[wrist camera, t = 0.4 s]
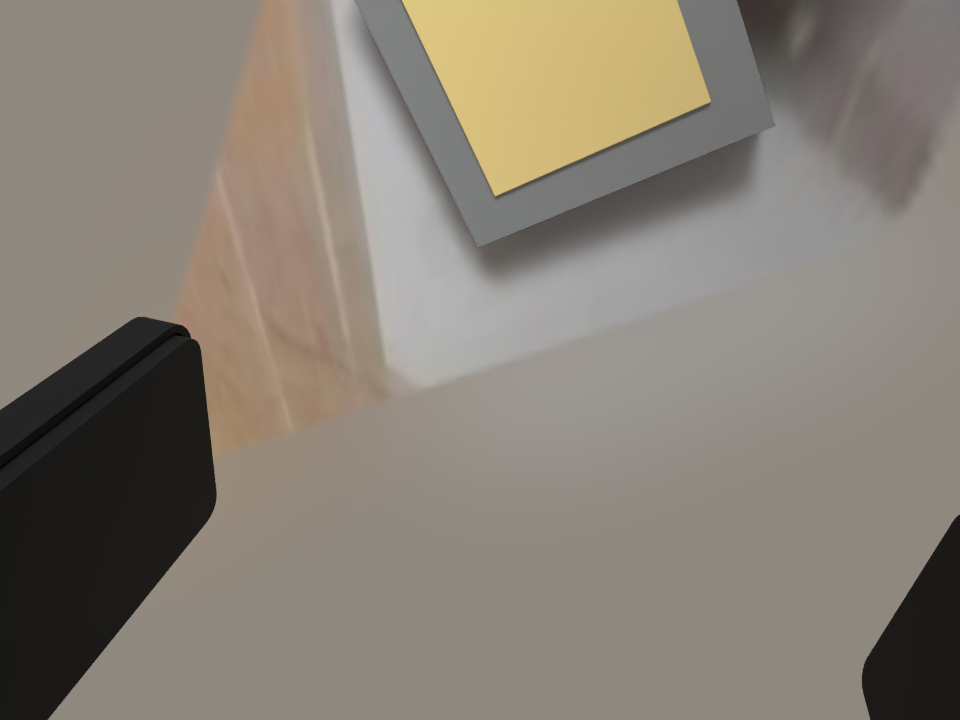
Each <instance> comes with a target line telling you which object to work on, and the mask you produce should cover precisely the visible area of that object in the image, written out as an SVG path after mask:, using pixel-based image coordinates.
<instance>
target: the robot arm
mask: <svg viewBox="0 0 960 720" xmlns="http://www.w3.org/2000/svg"><path fill="white" fill-rule="evenodd" d="M215 503H216V484H215V474H214V465H213V456H212V447H211V438H210V429H209V420H208V411H207V402H206V393H205V384H204V375H203V365H202V356H201V349H200V345H199V344H198V342H197V341H196V340H194V339H191V336H190V333H189V332H188V330H187V328H185V327H184V326H182V325H178V324H174V323H169V322H165V321H160V320H156V319H151V318H147V317H137V318H135V319H133V320H131V321H129V322H128V323H126V324H125V325H123V326H122V327H121V328H119V329H118V330H116V331H115V332H113V333H112V334H110V335H109V336H107V337H106V338H105V339H103V340H102V341H100V342H99V343H97V344H96V345H94V346H93V347H91V348H90V349H89V350H87V351H86V352H84V353H83V354H81V355H80V356H78V357H77V358H76V359H74V360H73V361H71V362H70V363H68V364H67V365H65V366H64V367H62V368H61V369H59V370H58V371H57V372H55V373H54V374H52V375H51V376H49V377H48V378H46V379H45V380H43V381H42V382H40V383H39V384H38V385H36V386H35V387H33V388H32V389H30V390H29V391H28V392H26V393H24V394H23V395H22V396H20V397H19V398H17V399H16V400H14V401H13V402H11V403H10V404H8V405H7V406H6V407H4V408H3V409H1V410H0V720H48V718H49V717H50V716H51V715H52V714H53V712H54V711H55V710H56V709H57V707H58V706H59V705H60V704H61V702H62V701H63V700H64V699H65V697H66V696H67V695H68V693H69V692H70V691H71V690H72V688H73V687H74V686H75V685H76V684H77V683H78V681H79V680H80V679H81V678H82V676H83V675H84V674H85V672H86V671H87V670H88V669H89V668H90V666H91V665H92V663H94V661H95V660H96V659H97V658H98V656H99V655H100V654H101V653H102V651H103V650H104V649H105V648H106V646H107V645H108V644H109V643H110V641H111V640H112V639H113V638H114V637H115V635H116V634H117V633H118V632H119V630H120V629H121V628H122V627H123V625H124V624H125V623H126V622H127V620H128V619H129V618H130V617H131V615H132V614H133V613H134V612H135V610H136V609H137V608H138V607H139V606H140V604H141V603H142V602H143V601H144V599H145V598H146V597H147V596H148V594H149V593H150V592H151V591H152V589H153V588H154V587H155V586H156V584H157V583H158V582H159V581H160V580H161V578H162V577H163V576H164V574H165V573H166V572H167V571H168V570H169V568H170V567H171V566H172V565H173V563H174V562H175V561H176V560H177V558H178V557H179V556H180V555H181V553H182V552H183V551H184V549H185V548H186V547H187V546H188V545H189V543H190V542H191V541H192V540H193V539H194V537H195V536H196V535H197V534H198V532H199V531H200V530H201V529H202V527H203V526H204V525H205V524H206V522H207V521H208V519H209V518H210V516H211V514H212V512H213V510H214V507H215ZM862 688H863V693H864V697H865V701H866V705H867V708H868V712H869V716H870V720H960V515H958V516H957V517H956V519H955V520H954V521H953V522H952V524H951V525H950V527H949V529H948V530H947V532H946V534H945V535H944V537H943V538H942V540H941V541H940V543H939V545H938V546H937V548H936V549H935V551H934V552H933V554H932V556H931V557H930V559H929V560H928V562H927V564H926V565H925V567H924V568H923V570H922V572H921V573H920V575H919V576H918V578H917V579H916V581H915V583H914V584H913V586H912V588H911V589H910V591H909V592H908V594H907V595H906V597H905V599H904V600H903V602H902V603H901V605H900V607H899V608H898V610H897V611H896V613H895V614H894V616H893V618H892V619H891V621H890V622H889V624H888V626H887V627H886V629H885V631H884V632H883V634H882V635H881V637H880V638H879V640H878V642H877V643H876V645H875V646H874V648H873V649H872V651H871V653H870V654H869V656H868V657H867V659H866V662H865V664H864V668H863V673H862Z"/></svg>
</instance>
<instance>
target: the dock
mask: <svg viewBox="0 0 960 720" xmlns="http://www.w3.org/2000/svg"><path fill="white" fill-rule="evenodd" d="M355 2H356V4H357V6H358V8H359V10H360V12H361V14H362V16H363V18H364V20H365V22H366V24H367V26H368V28H369V30H370V32H371V34H372V36H373V38H374V40H375V42H376V44H377V46H378V48H379V50H380V52H381V54H382V56H383V58H384V60H385V62H386V64H387V66H388V68H389V70H390V73H391V75H392V77H393V79H394V81H395V83H396V85H397V87H398V89H399V91H400V93H401V95H402V97H403V99H404V101H405V103H406V105H407V107H408V109H409V111H410V113H411V115H412V117H413V119H414V121H415V123H416V125H417V127H418V129H419V131H420V133H421V135H422V137H423V139H424V141H425V143H426V145H427V147H428V149H429V151H430V153H431V155H432V157H433V159H434V161H435V163H436V165H437V167H438V169H439V171H440V173H441V175H442V177H443V179H444V181H445V183H446V185H447V187H448V189H449V191H450V193H451V195H452V197H453V199H454V201H455V203H456V205H457V207H458V209H459V211H460V213H461V215H462V217H463V219H464V221H465V223H466V225H467V227H468V229H469V231H470V233H471V235H472V237H473V239H474V241H475V243H476V245H477V247H481V246H483V245H486V244H488V243H490V242H493V241H495V240H498V239H500V238H503V237H505V236H507V235H510V234H512V233H515V232H517V231H520V230H522V229H525V228H527V227H529V226H532V225H534V224H537V223H539V222H542V221H544V220H546V219H549V218H551V217H554V216H556V215H559V214H561V213H564V212H566V211H568V210H571V209H573V208H576V207H578V206H581V205H583V204H585V203H588V202H590V201H593V200H595V199H598V198H600V197H603V196H605V195H607V194H610V193H612V192H615V191H617V190H620V189H622V188H624V187H627V186H629V185H632V184H634V183H637V182H639V181H642V180H644V179H646V178H649V177H651V176H654V175H656V174H659V173H661V172H663V171H666V170H668V169H671V168H673V167H676V166H678V165H681V164H683V163H685V162H688V161H690V160H693V159H695V158H698V157H700V156H703V155H705V154H707V153H710V152H712V151H715V150H717V149H720V148H722V147H724V146H727V145H729V144H732V143H734V142H737V141H739V140H742V139H744V138H746V137H749V136H751V135H754V134H756V133H759V132H761V131H763V130H766V129H768V128H771V127H773V126H775V123H774V120H773V116H772V113H771V110H770V107H769V103H768V100H767V97H766V94H765V90H764V87H763V84H762V81H761V77H760V74H759V71H758V68H757V64H756V61H755V58H754V55H753V51H752V48H751V45H750V42H749V38H748V35H747V32H746V29H745V25H744V22H743V19H742V16H741V12H740V9H739V6H738V3H737V0H355Z"/></svg>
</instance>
